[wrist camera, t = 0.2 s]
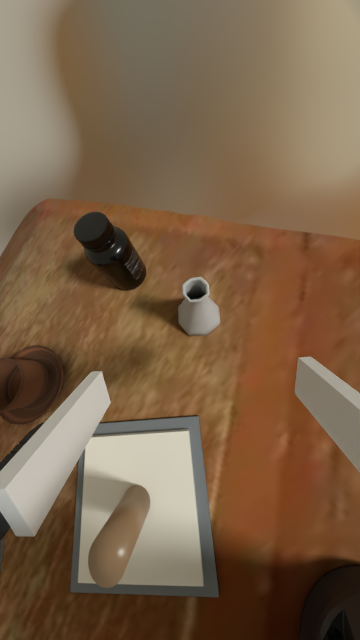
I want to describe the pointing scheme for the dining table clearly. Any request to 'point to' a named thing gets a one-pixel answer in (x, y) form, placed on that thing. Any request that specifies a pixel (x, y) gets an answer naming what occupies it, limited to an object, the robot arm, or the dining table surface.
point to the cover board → (167, 510)
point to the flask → (197, 308)
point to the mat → (201, 503)
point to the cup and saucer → (29, 384)
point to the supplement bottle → (110, 250)
